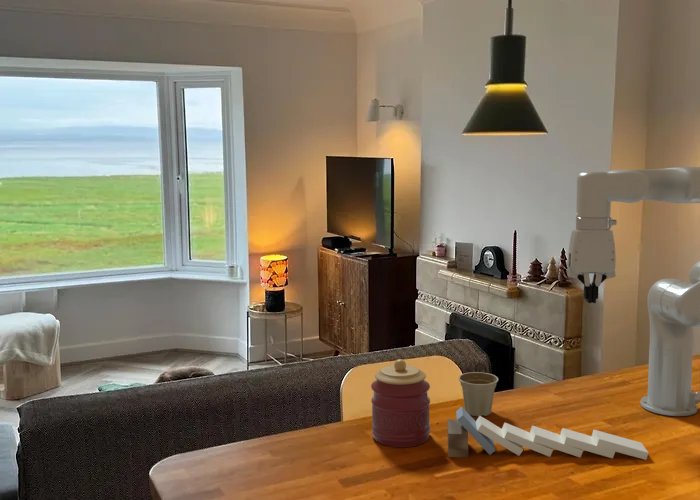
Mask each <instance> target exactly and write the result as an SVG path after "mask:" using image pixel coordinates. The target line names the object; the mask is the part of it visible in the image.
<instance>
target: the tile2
mask: <svg viewBox="0 0 700 500" xmlns="http://www.w3.org/2000/svg"><path fill="white" fill-rule="evenodd" d="M559 435H560V436H561V438H562V440H563V443H564V444H565V445H569V446H572V447H575V448H579V449H582V450H583V451H584V452H585V451H586V452H590V453H592V454H595V455H599V456H602V457H606V458H609V459H614V456H615V453H616V451H612V450H609V449H605V448H602V447H598V446H596V444H595V442H594V440H593V438H592V437H591V436H592V435H589V434H585V433H583V432H582V433H581V432H578V431H574V430H571V429H569V428H565V427H562V428H561V431H560V434H559Z"/></svg>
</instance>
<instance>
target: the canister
mask: <svg viewBox="0 0 700 500" xmlns="http://www.w3.org/2000/svg"><path fill="white" fill-rule="evenodd" d="M374 378H375V380H374V381H373V382H371V384H370V388H371V390H372V391H373V396H372V397H371V400H370V402H371V405H372V407H371V413H372V417H371V418H372V421H371V422H372V425H371V433H372V437H373V439H374V440H375V441H376V442H377V443H379V444H381V445H383V446H387V447H393V448H410V447H415V446H419V445H422V444H425V442H427V441H428V440H429V438H430V433H431V424H430V404H431V399H430V397H429V396H428V394H429V393H428V392H429V390H430V388H431V385H430V382H428V381H427V380H426V378H427V373H425V372H424V371H423V370H421V369H420V368H419V367H417V366H415V365H410V364H407V363H406V361H405V360H404V359H401V358H400V359H399V358H398V359H396V360H395V362H394V364H389V365H386V366H383V367H382V368H381V369H380V370H378V371H376V372H375V373H374Z"/></svg>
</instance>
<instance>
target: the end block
mask: <svg viewBox="0 0 700 500" xmlns="http://www.w3.org/2000/svg"><path fill="white" fill-rule="evenodd" d="M447 453H448V455H447V456H448V458H469V432H468V431H467V430H466V429H465V428H464V427H463V426H462V425H461V424H460V423H459V421H458V420H457V419H455V418H454V419H449V418H448V419H447Z"/></svg>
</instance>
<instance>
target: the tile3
mask: <svg viewBox="0 0 700 500" xmlns="http://www.w3.org/2000/svg"><path fill="white" fill-rule="evenodd" d="M529 432H530V434H531V437H532V440H533V442H535V443H538V444H541V445H544V446H547V447H550V448H552V449H553V450H557V451H560V452H563V453H565V454H567V455H568V454H569V455H572V456H575V457H577V458H582V455H583V453H584V450H582V449H579V448H575V447H572V446H569V445H565V444H564V443H563V440H562V438H561V436H560V434H559V433H556V432H554V431H550V430H547V429H544V428H541V427H538V426H535V425H533V424H532V425H531V427H530V431H529Z"/></svg>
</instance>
